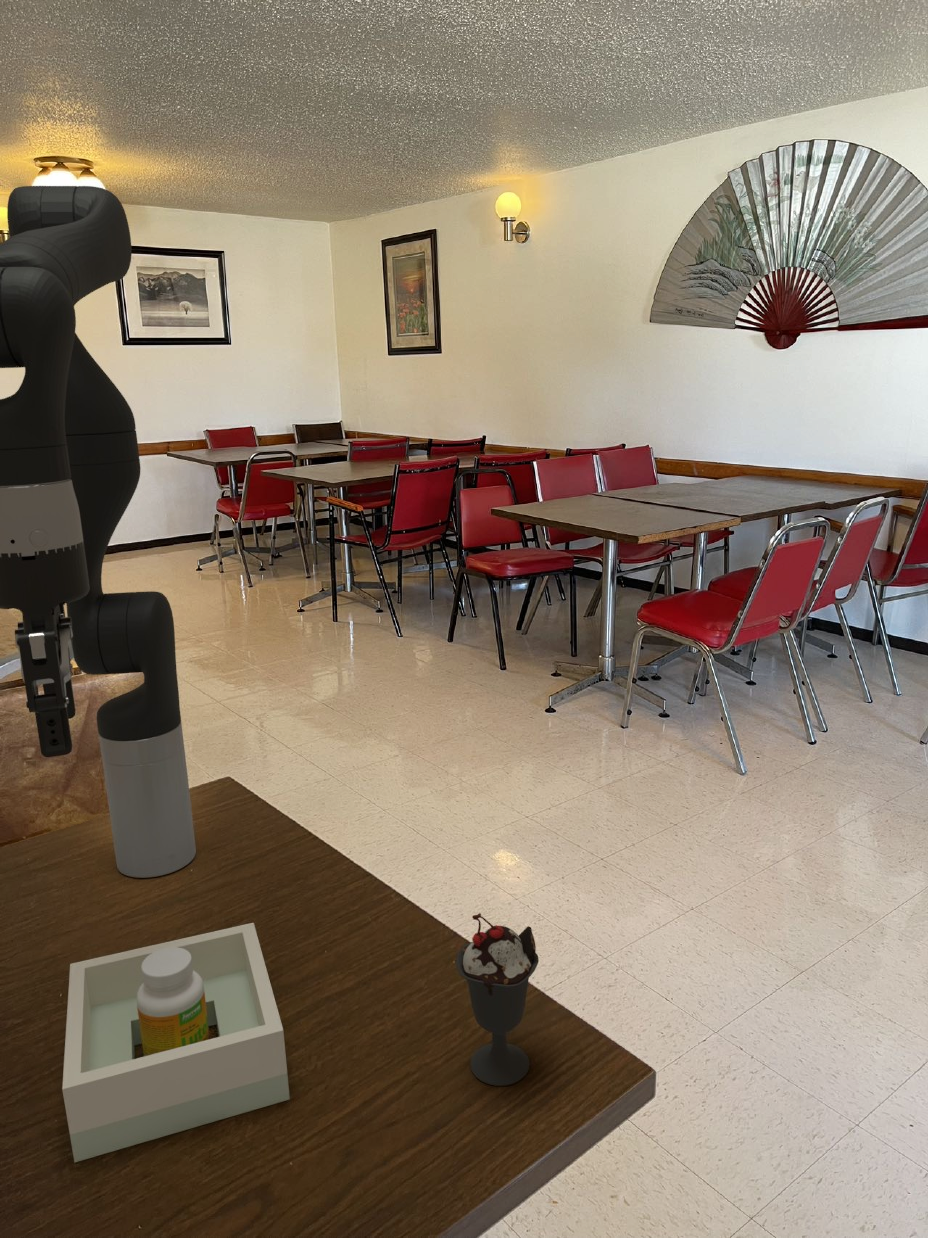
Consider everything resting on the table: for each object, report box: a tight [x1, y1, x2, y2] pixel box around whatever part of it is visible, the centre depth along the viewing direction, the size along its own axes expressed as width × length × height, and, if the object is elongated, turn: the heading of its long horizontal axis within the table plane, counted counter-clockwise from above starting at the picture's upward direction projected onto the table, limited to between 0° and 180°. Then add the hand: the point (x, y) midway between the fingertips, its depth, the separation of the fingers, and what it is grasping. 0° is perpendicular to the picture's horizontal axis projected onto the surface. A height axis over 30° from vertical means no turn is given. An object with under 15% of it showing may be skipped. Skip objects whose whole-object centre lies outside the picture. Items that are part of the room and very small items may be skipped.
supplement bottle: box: [137, 947, 211, 1057], centre depth 77 cm, size 5×5×10 cm
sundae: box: [456, 912, 540, 1087], centre depth 74 cm, size 7×7×15 cm
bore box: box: [61, 922, 291, 1163], centre depth 77 cm, size 16×16×6 cm
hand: (60, 735), depth 75 cm, fingers open, 8 cm apart
